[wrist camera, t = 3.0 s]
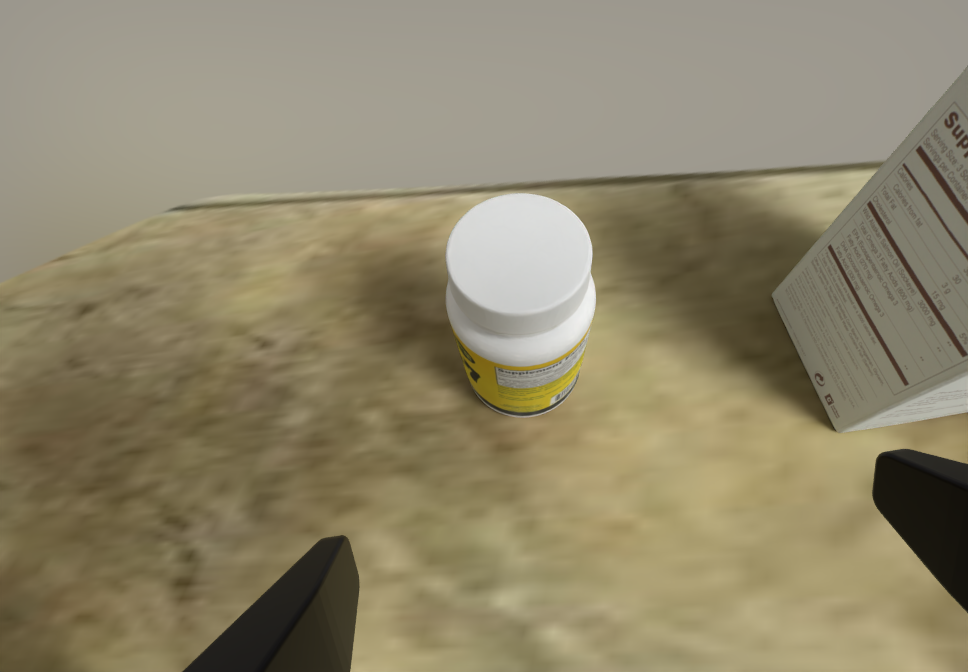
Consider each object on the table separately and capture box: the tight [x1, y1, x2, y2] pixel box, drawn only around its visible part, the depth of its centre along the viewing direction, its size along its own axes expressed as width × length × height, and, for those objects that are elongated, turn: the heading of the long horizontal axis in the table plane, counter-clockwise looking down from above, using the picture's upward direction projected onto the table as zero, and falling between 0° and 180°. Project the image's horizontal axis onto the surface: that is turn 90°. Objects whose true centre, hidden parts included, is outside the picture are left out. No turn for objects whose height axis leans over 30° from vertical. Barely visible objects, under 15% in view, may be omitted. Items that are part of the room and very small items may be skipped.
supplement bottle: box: [446, 193, 596, 418], centre depth 19 cm, size 6×6×10 cm
